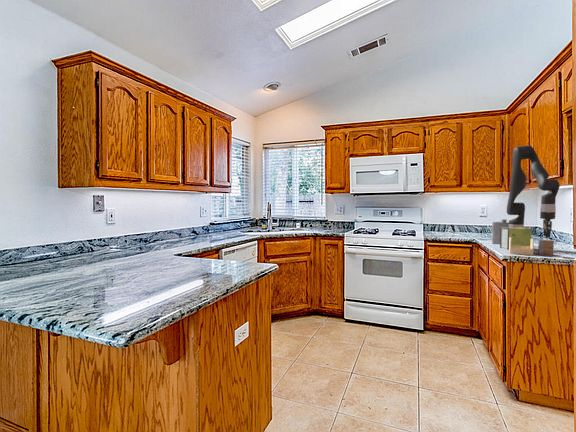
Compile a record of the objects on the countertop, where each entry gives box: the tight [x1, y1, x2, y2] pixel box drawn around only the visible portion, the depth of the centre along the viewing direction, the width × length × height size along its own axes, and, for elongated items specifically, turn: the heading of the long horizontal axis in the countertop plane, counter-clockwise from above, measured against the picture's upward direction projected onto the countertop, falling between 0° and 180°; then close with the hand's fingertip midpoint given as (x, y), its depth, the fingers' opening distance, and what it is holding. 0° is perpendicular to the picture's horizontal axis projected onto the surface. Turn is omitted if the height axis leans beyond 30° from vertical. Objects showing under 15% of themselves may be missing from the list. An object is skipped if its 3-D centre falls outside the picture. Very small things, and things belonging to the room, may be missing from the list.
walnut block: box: [537, 239, 555, 257], centre depth 208 cm, size 5×7×9 cm
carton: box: [508, 237, 534, 256], centre depth 215 cm, size 13×12×10 cm
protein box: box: [499, 227, 532, 251], centre depth 233 cm, size 10×15×16 cm
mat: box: [535, 252, 556, 257], centre depth 208 cm, size 10×9×1 cm
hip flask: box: [491, 218, 509, 245], centre depth 261 cm, size 16×4×20 cm, turn 49°
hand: (546, 236), depth 208 cm, fingers open, 8 cm apart
